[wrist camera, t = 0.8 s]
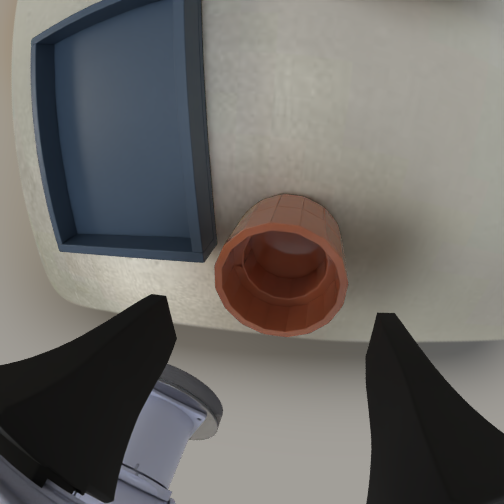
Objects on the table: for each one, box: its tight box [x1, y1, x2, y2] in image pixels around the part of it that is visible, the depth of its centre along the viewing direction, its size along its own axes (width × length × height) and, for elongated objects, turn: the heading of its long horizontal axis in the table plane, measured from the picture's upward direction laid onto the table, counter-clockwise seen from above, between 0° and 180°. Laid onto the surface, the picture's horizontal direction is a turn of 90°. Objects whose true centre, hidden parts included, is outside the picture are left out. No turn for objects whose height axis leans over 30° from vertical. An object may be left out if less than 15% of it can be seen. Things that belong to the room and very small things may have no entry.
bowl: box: [215, 194, 348, 337], centre depth 15 cm, size 6×6×4 cm
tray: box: [31, 0, 217, 263], centre depth 14 cm, size 15×11×2 cm
